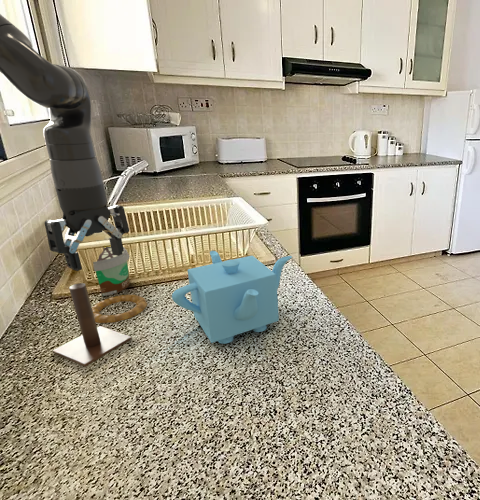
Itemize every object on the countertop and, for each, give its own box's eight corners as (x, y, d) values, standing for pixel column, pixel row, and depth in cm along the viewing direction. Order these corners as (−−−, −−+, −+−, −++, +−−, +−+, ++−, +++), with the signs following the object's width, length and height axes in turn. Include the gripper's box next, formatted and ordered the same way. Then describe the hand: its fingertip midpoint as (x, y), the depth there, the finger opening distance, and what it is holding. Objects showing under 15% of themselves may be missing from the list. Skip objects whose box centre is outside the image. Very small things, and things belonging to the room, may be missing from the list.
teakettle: (171, 346, 72) (159, 277, 66) (217, 299, 89) (211, 241, 84) (265, 357, 70) (261, 287, 64) (294, 307, 87) (292, 248, 81)
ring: (77, 319, 80) (75, 311, 79) (124, 296, 89) (123, 289, 89) (113, 331, 76) (111, 323, 75) (158, 307, 85) (156, 299, 85)
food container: (132, 298, 89) (123, 259, 85) (102, 302, 87) (92, 262, 83) (138, 276, 99) (131, 241, 96) (111, 280, 97) (103, 244, 94)
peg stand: (54, 357, 68) (32, 291, 63) (101, 331, 76) (86, 271, 71) (86, 371, 65) (67, 303, 60) (133, 343, 73) (119, 280, 68)
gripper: (102, 174, 77) (117, 247, 83) (23, 187, 65) (48, 271, 71) (127, 178, 74) (142, 253, 80) (51, 191, 62) (74, 279, 68)
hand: (98, 261), depth 76 cm, fingers open, 8 cm apart
